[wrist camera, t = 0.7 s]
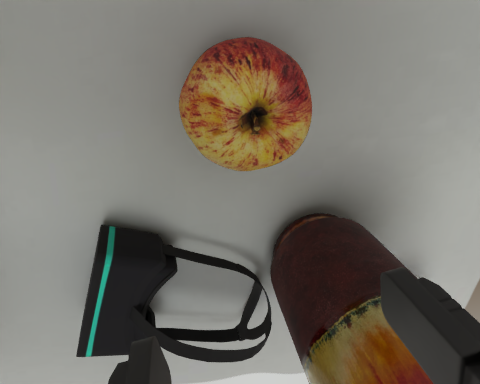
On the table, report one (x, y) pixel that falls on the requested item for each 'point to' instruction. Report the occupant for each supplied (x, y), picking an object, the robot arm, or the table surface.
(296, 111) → the apple
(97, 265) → the virtual reality headset
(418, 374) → the vase
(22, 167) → the table surface
